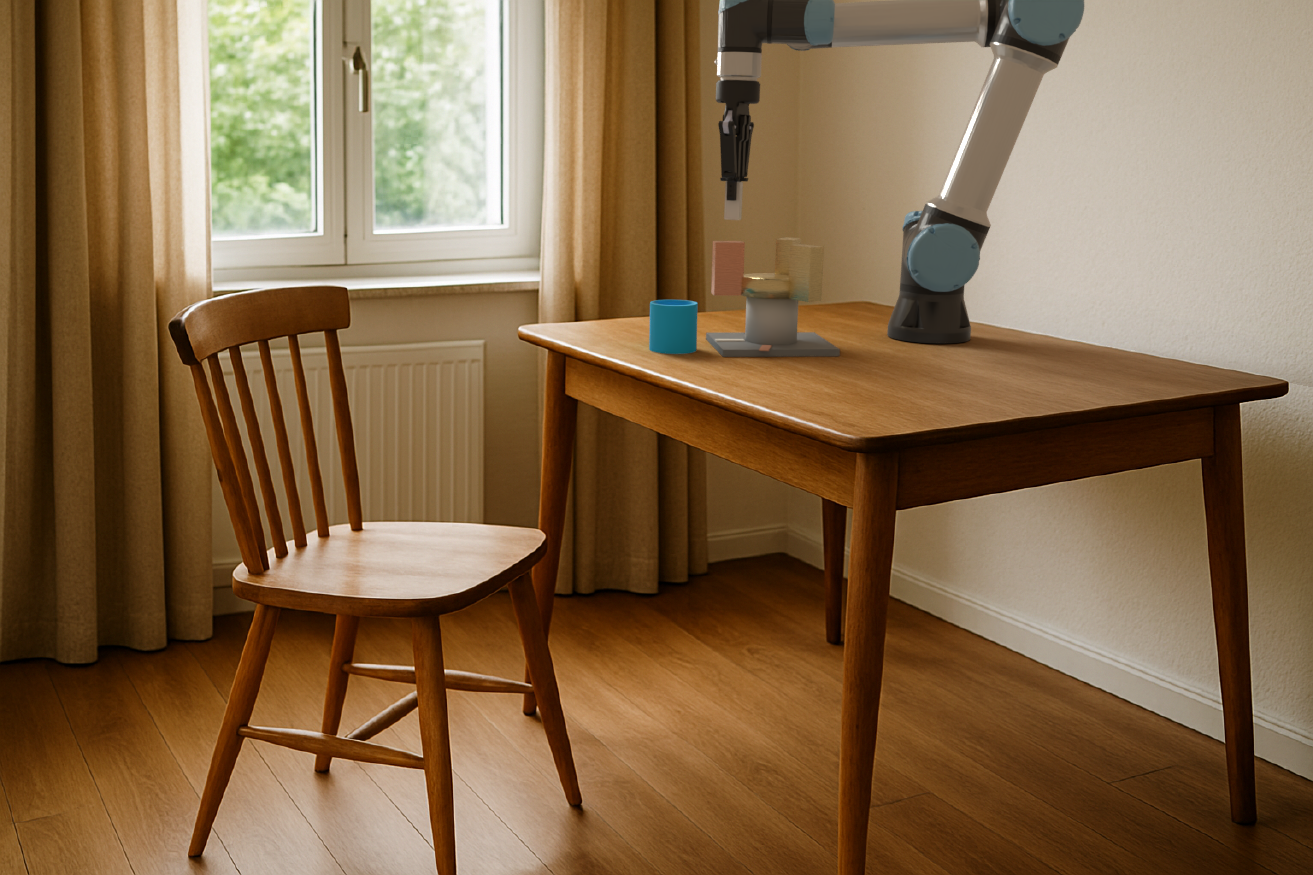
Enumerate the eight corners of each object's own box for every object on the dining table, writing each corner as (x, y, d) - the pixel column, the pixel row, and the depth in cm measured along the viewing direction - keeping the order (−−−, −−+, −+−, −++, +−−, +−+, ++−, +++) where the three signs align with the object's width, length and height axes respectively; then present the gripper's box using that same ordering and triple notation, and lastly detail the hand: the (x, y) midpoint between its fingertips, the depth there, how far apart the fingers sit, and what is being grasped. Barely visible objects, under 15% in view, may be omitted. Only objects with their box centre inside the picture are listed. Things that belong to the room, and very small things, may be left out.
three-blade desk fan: (796, 287, 227) (798, 237, 225) (823, 302, 208) (826, 247, 206) (703, 287, 225) (705, 236, 223) (722, 302, 206) (724, 247, 204)
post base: (814, 338, 229) (816, 289, 227) (842, 358, 210) (845, 304, 208) (706, 339, 226) (707, 289, 224) (724, 358, 207) (726, 304, 205)
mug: (704, 352, 213) (705, 305, 211) (660, 355, 210) (660, 306, 208) (676, 341, 224) (677, 296, 222) (634, 343, 221) (634, 297, 219)
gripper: (729, 81, 220) (723, 216, 226) (705, 77, 209) (700, 220, 214) (770, 81, 218) (763, 218, 223) (748, 78, 206) (742, 223, 212)
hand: (732, 219), depth 219 cm, fingers closed
